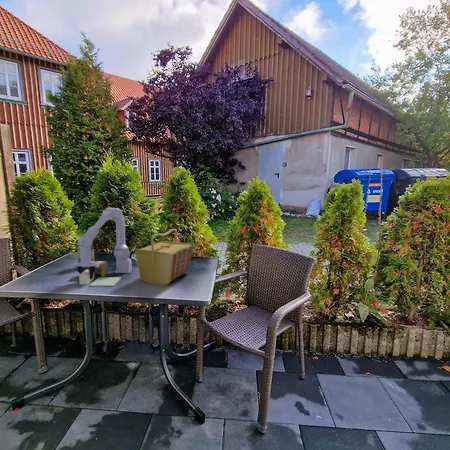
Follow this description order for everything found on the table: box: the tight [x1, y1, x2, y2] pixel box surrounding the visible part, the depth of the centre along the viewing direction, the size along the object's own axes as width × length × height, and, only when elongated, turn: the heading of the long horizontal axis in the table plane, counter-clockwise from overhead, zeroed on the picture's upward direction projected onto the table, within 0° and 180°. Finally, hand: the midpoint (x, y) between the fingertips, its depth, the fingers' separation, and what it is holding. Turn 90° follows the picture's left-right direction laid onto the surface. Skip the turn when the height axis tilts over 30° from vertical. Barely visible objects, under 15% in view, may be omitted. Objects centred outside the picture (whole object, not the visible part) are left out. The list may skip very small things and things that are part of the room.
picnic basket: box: [134, 228, 194, 286], centre depth 185 cm, size 29×26×30 cm
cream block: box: [78, 270, 95, 285], centre depth 178 cm, size 4×10×6 cm, turn 2°
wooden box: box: [84, 260, 109, 277], centre depth 188 cm, size 14×8×8 cm, turn 92°
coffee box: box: [77, 243, 95, 263], centre depth 206 cm, size 9×6×16 cm
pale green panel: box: [88, 276, 122, 287], centre depth 177 cm, size 14×14×1 cm
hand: (87, 278), depth 178 cm, fingers closed on cream block, 4 cm apart
